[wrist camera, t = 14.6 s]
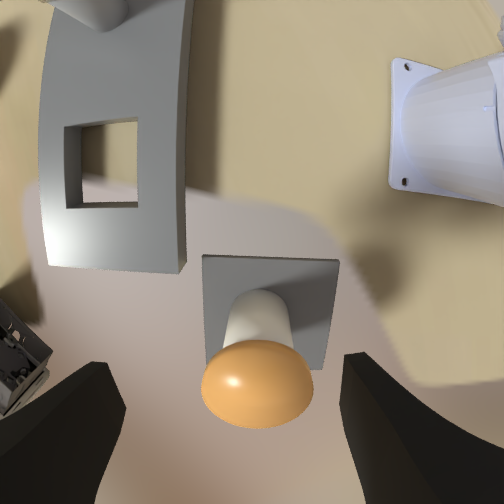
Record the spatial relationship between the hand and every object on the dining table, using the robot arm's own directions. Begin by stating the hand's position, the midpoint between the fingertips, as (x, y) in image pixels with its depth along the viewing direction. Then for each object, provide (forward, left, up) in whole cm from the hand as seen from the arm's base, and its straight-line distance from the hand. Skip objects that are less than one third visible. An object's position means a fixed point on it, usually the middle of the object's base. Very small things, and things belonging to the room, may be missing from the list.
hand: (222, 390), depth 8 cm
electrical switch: (+20, +7, -11) cm, 24 cm away
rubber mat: (-2, +3, -10) cm, 11 cm away
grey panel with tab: (+8, -10, -10) cm, 16 cm away
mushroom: (-1, +3, -10) cm, 10 cm away
